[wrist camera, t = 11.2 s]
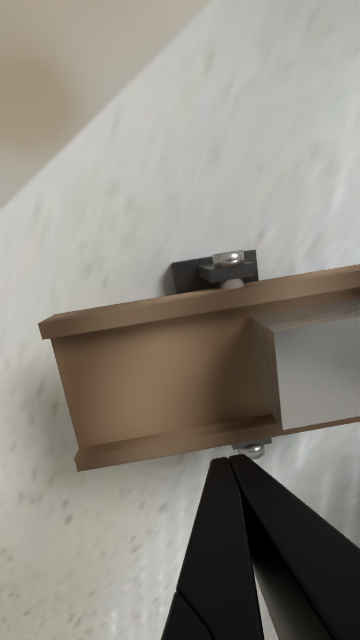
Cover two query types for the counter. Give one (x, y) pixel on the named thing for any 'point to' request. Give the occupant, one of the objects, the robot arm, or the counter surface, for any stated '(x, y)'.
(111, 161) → the counter surface
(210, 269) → the pivot stand
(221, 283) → the beam
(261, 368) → the steel block
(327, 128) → the counter surface
